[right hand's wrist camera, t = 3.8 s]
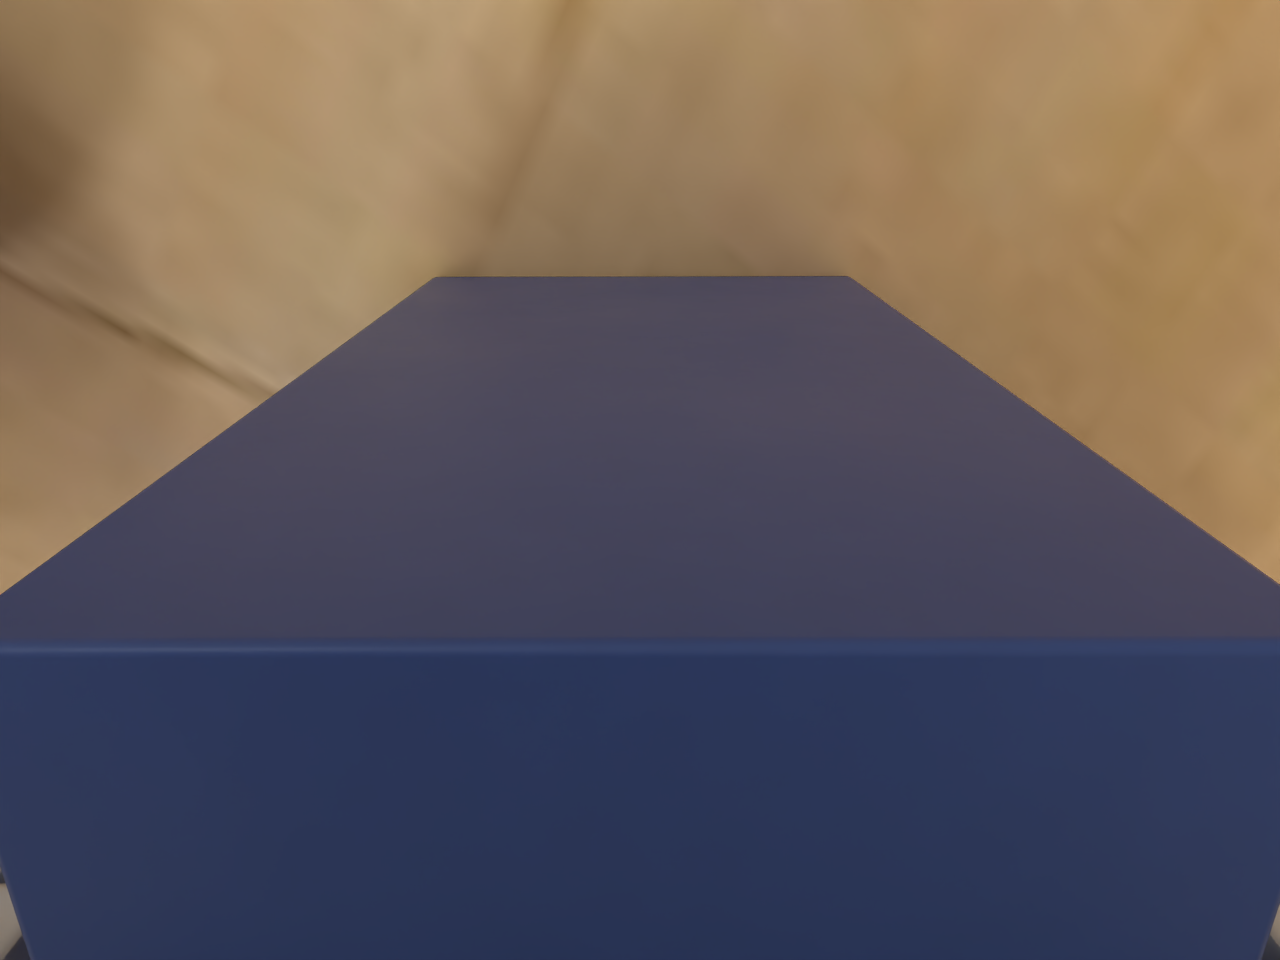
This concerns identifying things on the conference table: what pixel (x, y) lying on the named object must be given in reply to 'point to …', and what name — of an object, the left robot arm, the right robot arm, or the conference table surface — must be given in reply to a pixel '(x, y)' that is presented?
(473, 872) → the box
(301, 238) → the conference table surface
